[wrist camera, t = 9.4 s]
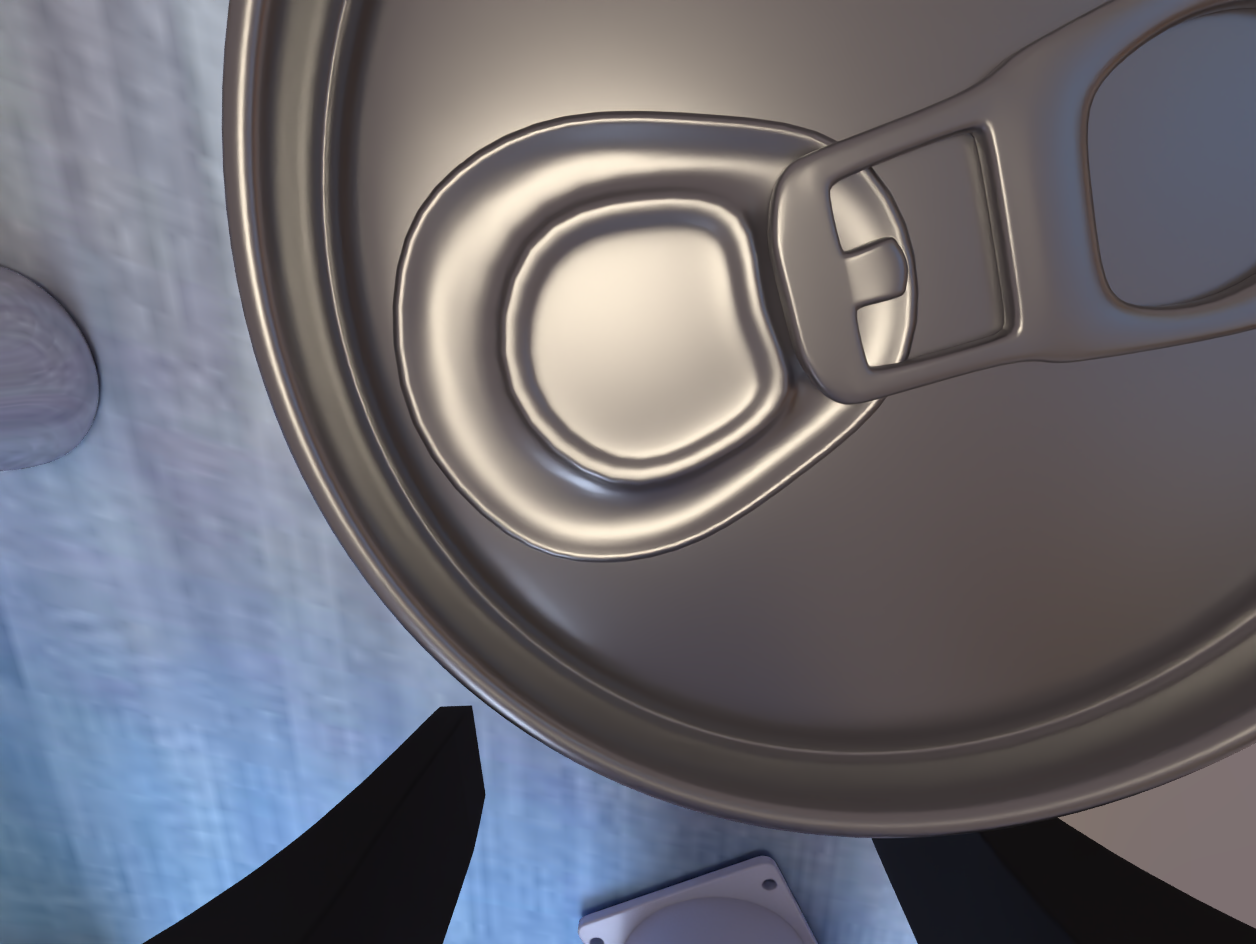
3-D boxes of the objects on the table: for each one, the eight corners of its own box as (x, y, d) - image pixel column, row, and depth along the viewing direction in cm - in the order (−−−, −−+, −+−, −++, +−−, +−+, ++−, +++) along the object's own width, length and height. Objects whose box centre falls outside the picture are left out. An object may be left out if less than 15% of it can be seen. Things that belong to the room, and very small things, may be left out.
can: (506, 174, 13) (-314, -450, 2) (808, 61, 13) (2388, -2051, 1) (606, 457, 15) (484, 1016, 4) (877, 372, 14) (1791, 734, 3)
